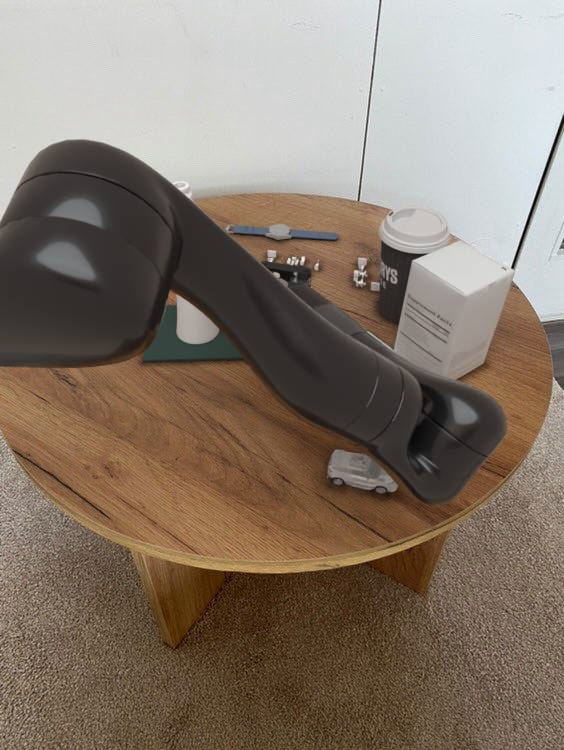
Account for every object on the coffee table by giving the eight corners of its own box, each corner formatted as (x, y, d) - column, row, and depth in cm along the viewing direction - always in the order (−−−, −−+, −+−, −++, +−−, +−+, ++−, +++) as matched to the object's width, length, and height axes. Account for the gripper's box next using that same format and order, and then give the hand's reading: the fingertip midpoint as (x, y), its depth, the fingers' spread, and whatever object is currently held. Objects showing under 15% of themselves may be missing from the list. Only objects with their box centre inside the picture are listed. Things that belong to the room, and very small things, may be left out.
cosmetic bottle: (217, 345, 80) (202, 197, 65) (173, 344, 81) (148, 197, 65) (221, 318, 85) (208, 173, 70) (179, 317, 85) (157, 173, 70)
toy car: (396, 498, 63) (400, 482, 61) (324, 483, 65) (326, 467, 63) (399, 471, 66) (403, 455, 64) (330, 457, 67) (332, 441, 65)
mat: (143, 362, 79) (142, 359, 78) (153, 308, 87) (152, 305, 87) (246, 359, 79) (246, 357, 79) (246, 306, 88) (246, 303, 87)
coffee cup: (398, 284, 92) (413, 195, 81) (446, 313, 87) (468, 222, 76) (355, 307, 88) (365, 217, 77) (402, 339, 82) (420, 247, 72)
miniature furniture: (269, 251, 98) (269, 244, 97) (419, 271, 94) (420, 263, 93) (259, 275, 93) (258, 267, 92) (416, 297, 89) (417, 289, 88)
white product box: (435, 329, 84) (460, 237, 74) (484, 364, 79) (519, 270, 68) (390, 353, 80) (410, 258, 70) (438, 391, 75) (467, 294, 64)
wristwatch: (227, 224, 105) (226, 219, 104) (338, 232, 103) (338, 227, 102) (222, 237, 102) (222, 232, 101) (337, 245, 100) (337, 240, 99)
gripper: (369, 284, 58) (266, 214, 68) (261, 336, 52) (166, 251, 62) (361, 341, 63) (267, 268, 73) (263, 394, 57) (174, 307, 67)
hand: (220, 261), depth 67 cm, fingers closed
